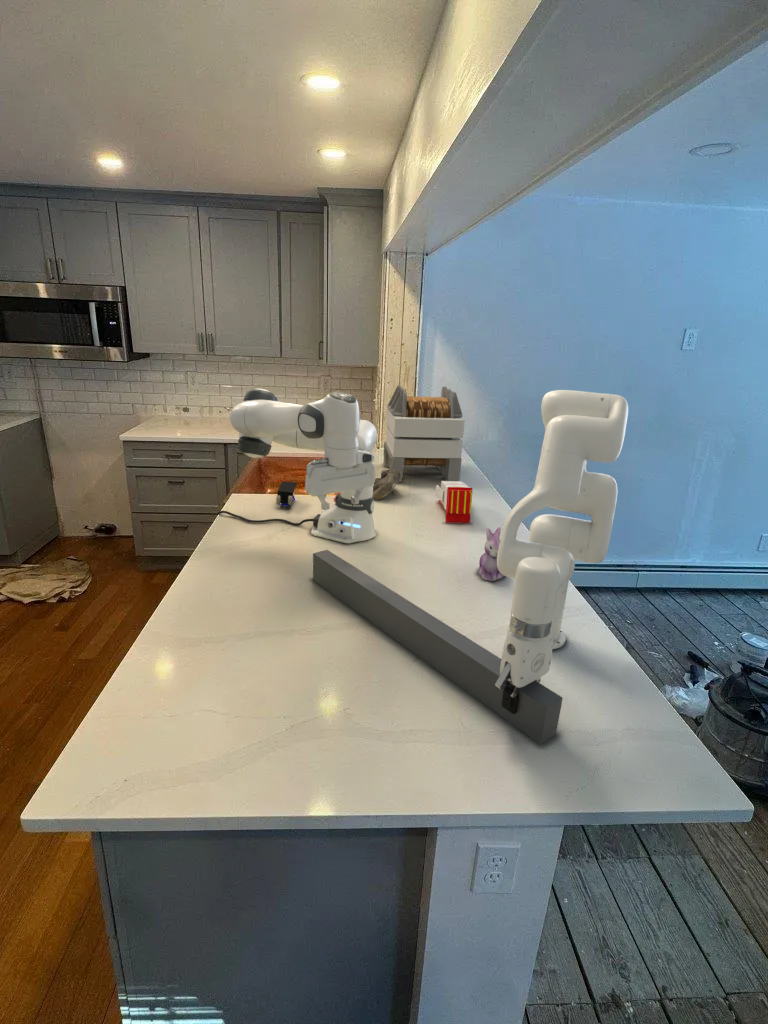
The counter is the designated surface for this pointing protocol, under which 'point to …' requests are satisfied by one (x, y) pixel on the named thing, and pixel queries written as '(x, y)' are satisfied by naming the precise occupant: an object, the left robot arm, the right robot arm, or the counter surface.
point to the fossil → (385, 483)
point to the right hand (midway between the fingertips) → (518, 703)
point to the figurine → (490, 557)
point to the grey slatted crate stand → (424, 433)
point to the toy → (455, 501)
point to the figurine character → (286, 494)
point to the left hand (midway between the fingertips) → (340, 506)
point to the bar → (438, 645)
